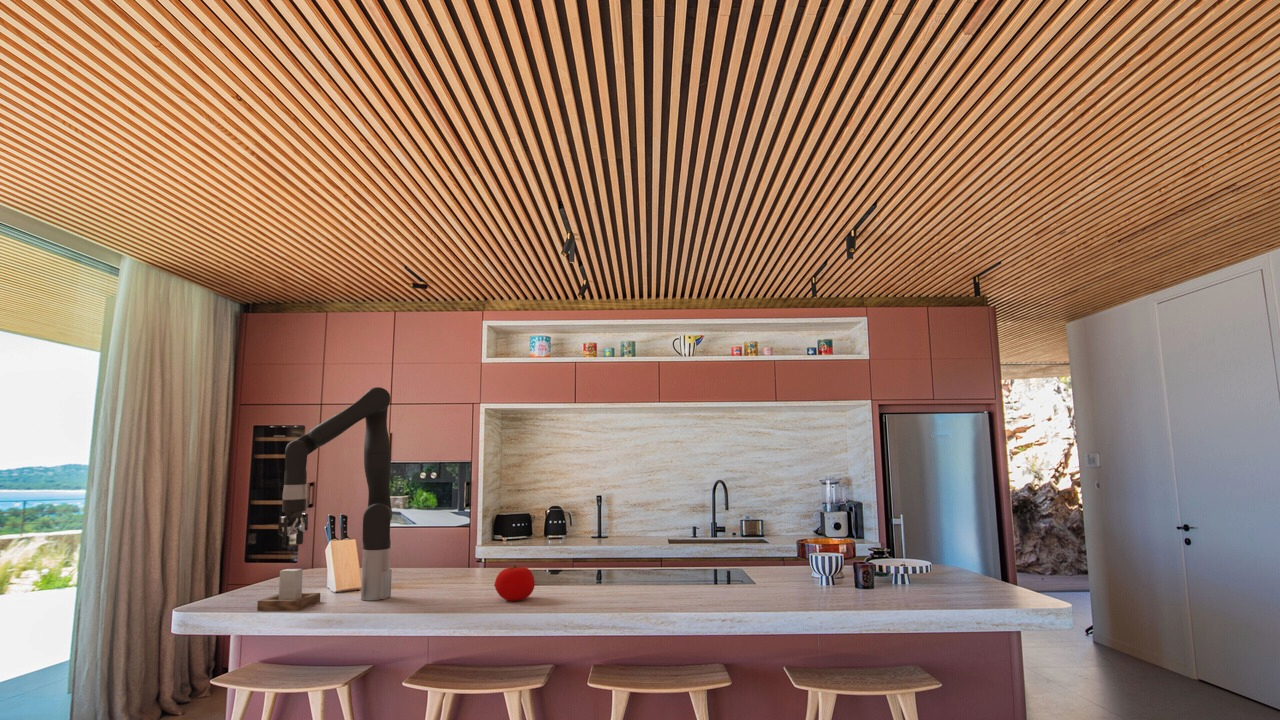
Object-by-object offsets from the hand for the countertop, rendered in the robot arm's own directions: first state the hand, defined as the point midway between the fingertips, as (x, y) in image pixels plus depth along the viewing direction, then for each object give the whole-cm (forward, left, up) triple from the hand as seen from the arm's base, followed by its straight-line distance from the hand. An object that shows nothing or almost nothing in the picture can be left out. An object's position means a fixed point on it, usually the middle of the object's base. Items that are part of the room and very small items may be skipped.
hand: (292, 545), depth 241 cm
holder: (0, 0, -20) cm, 20 cm away
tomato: (-75, -12, -20) cm, 79 cm away
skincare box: (0, 0, -20) cm, 20 cm away
